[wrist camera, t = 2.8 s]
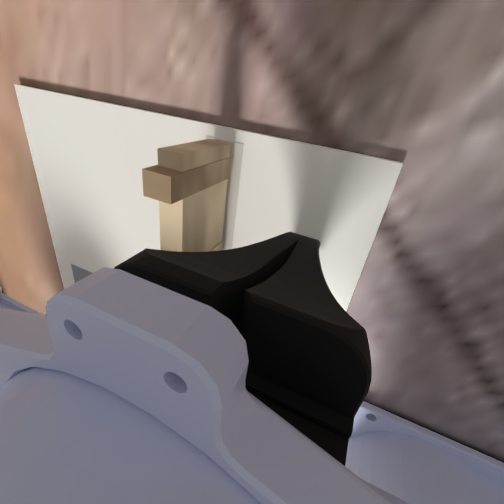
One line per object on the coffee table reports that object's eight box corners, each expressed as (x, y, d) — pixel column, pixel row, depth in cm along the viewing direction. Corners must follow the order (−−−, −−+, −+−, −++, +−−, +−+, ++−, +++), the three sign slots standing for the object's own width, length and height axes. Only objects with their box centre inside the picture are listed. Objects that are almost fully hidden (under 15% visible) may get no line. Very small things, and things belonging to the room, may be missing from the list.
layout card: (403, 162, 10) (403, 163, 10) (304, 418, 18) (302, 423, 18) (20, 84, 16) (13, 84, 16) (71, 306, 24) (68, 308, 24)
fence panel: (215, 323, 17) (172, 376, 14) (199, 316, 17) (153, 366, 14) (231, 143, 12) (170, 158, 9) (208, 138, 12) (140, 150, 9)
